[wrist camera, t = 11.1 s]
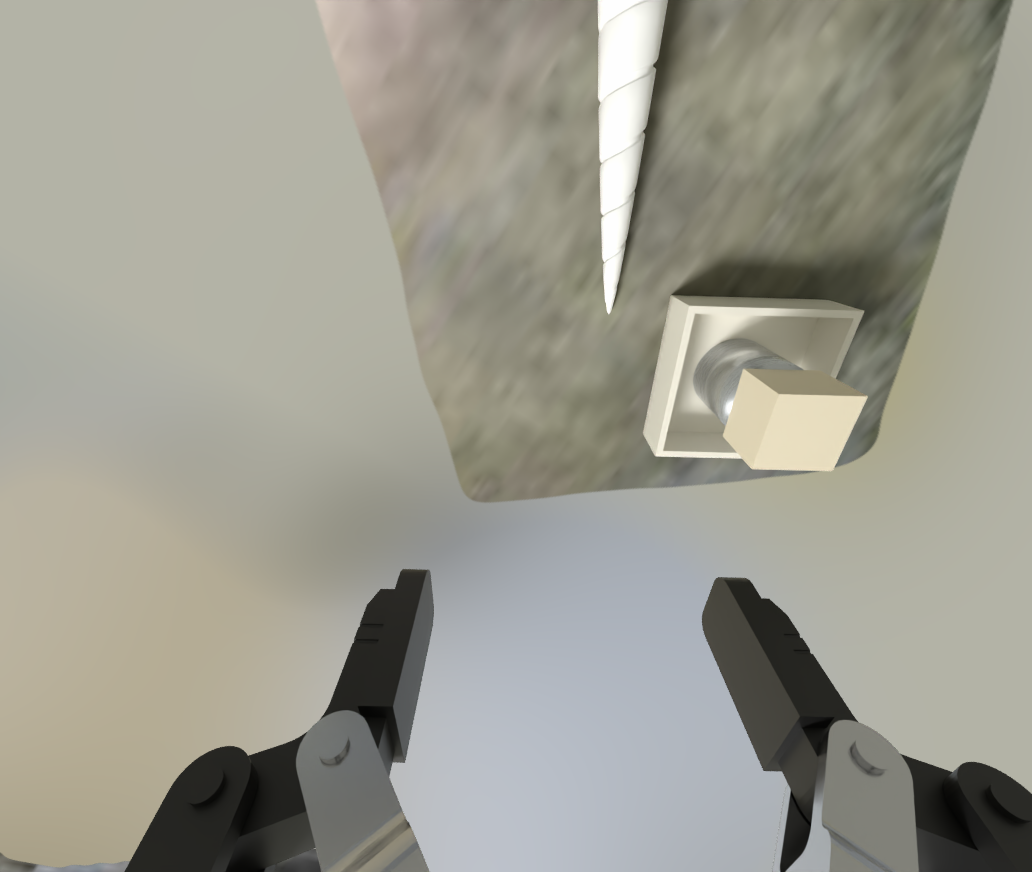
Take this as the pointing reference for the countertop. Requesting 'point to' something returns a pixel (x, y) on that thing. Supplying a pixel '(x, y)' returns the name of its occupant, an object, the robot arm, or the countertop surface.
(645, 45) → the unicorn horn
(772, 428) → the carton
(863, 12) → the countertop surface
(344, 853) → the robot arm
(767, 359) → the tin can
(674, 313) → the box
